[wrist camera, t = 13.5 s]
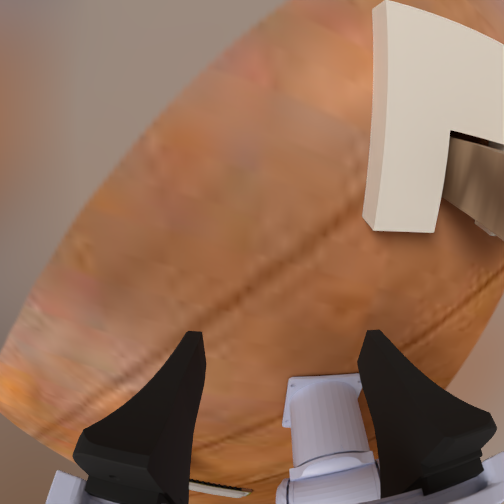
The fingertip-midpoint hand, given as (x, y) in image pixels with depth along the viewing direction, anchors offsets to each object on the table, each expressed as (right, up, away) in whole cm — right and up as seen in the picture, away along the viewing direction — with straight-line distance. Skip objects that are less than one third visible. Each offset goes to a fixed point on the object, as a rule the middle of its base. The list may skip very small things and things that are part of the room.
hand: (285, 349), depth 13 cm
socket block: (+14, +13, +5) cm, 20 cm away
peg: (+14, +11, +6) cm, 19 cm away
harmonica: (-9, -39, +32) cm, 51 cm away
